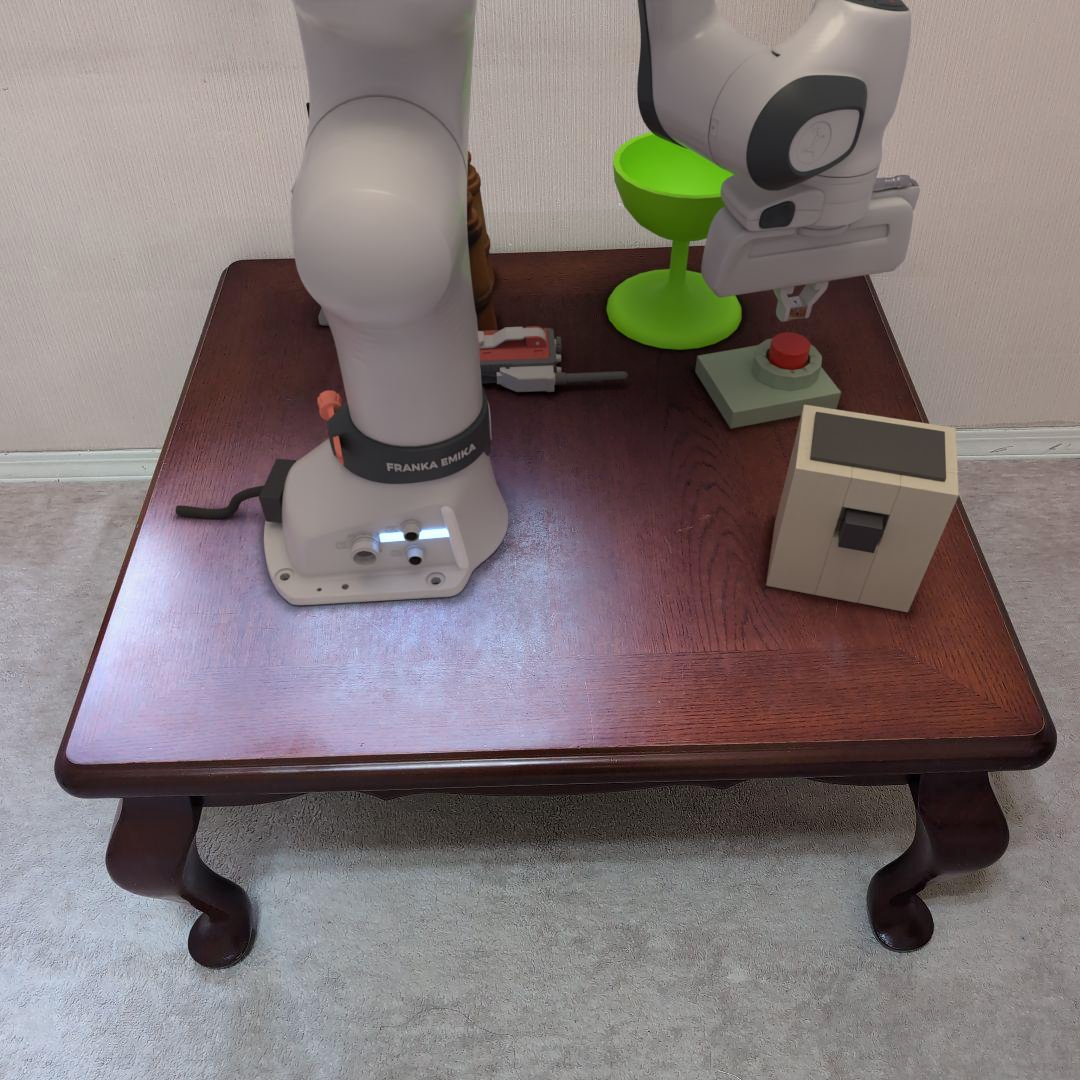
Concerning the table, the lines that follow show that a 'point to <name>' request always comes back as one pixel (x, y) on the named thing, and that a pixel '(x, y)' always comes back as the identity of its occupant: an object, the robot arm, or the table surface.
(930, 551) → the beige box
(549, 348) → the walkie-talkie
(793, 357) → the mains button
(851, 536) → the power button
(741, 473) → the table surface
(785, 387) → the switch box
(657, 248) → the table surface
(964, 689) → the table surface
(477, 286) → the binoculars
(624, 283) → the wineglass
